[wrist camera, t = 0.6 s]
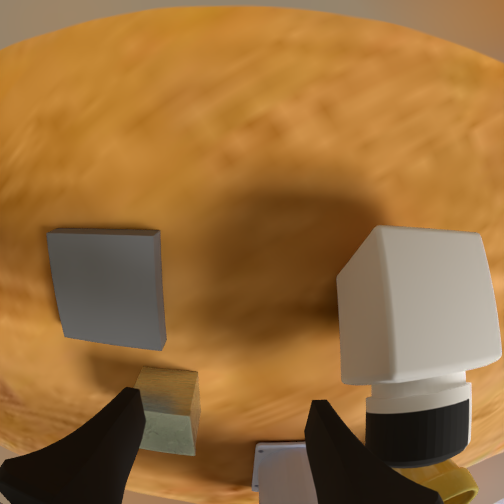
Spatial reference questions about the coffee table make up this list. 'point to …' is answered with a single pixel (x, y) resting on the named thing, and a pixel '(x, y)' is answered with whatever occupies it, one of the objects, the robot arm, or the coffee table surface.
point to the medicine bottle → (417, 338)
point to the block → (109, 285)
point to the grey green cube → (170, 409)
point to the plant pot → (444, 481)
